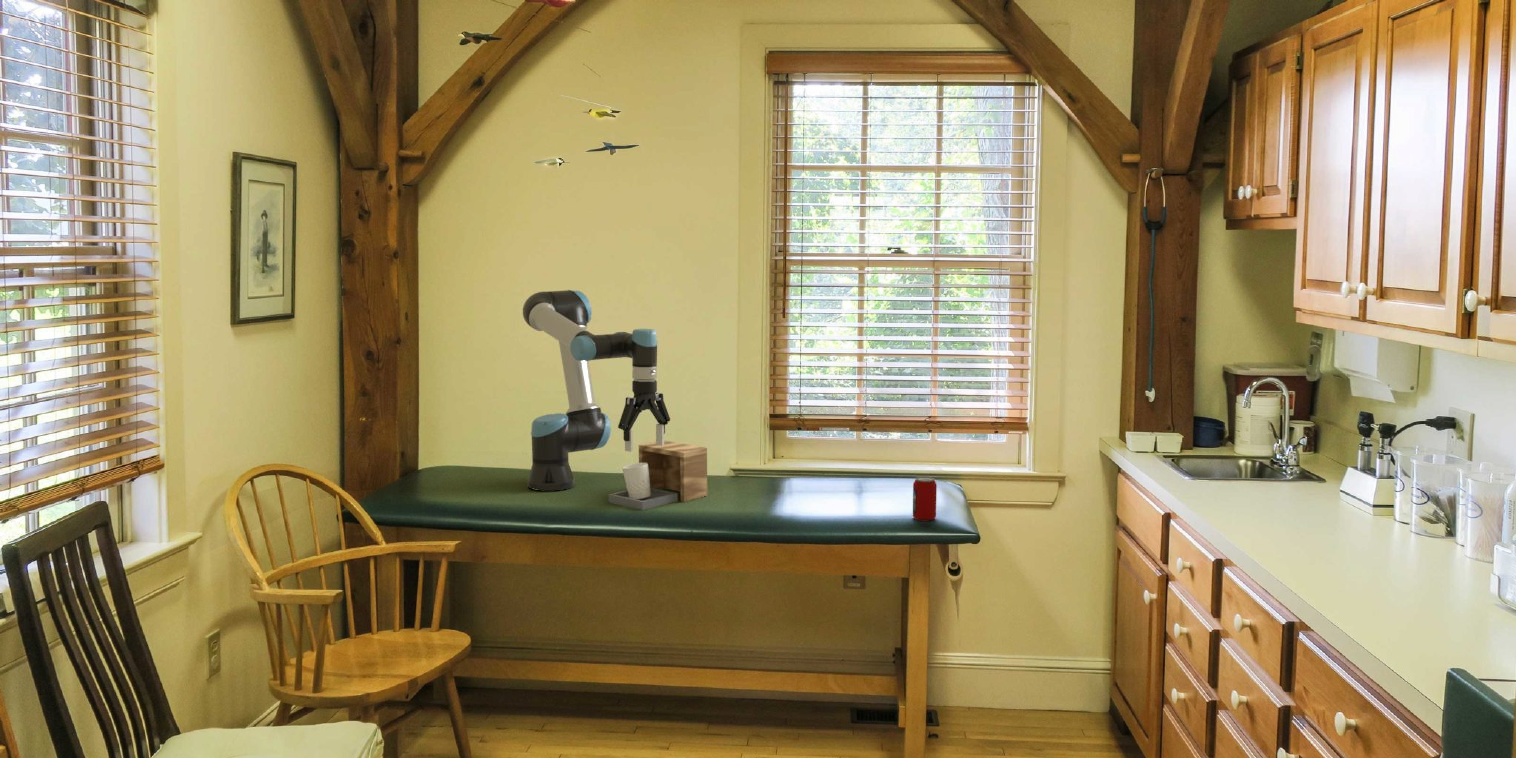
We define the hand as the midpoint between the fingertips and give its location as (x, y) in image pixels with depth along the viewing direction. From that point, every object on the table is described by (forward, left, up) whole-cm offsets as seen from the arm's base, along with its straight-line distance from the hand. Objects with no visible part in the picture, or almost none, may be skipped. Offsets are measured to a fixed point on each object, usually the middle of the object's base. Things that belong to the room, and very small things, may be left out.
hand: (644, 448), depth 357 cm
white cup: (0, -2, -15) cm, 15 cm away
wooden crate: (0, +12, -17) cm, 20 cm away
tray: (0, -1, -17) cm, 17 cm away
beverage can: (+78, +37, -17) cm, 88 cm away
